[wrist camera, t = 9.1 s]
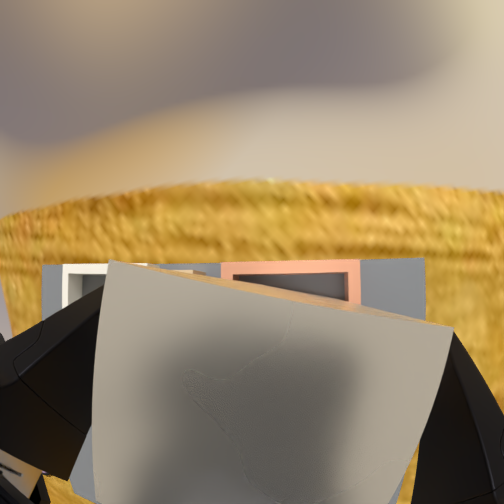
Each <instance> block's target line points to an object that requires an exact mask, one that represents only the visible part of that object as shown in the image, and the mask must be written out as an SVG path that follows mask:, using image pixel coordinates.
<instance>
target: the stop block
mask: <svg viewBox="0 0 504 504" xmlns="http://www.w3.org/2000/svg"><path fill="white" fill-rule="evenodd" d="M453 331H454V327H450V326H445V325H441V324H437V323H433V322H428V321H424V320H420V319H416V318H412V317H408V316H403V315H399V314H395V313H391V312H387V311H383V310H379V309H375V308H371V307H367V306H363V305H359V304H355V303H351V302H348V301H344V300H340V299H336V298H330V297H325V296H320V295H314V294H309V293H304V292H298V291H293V290H288V289H283V288H278V287H273V286H267V285H262V284H256V283H249V282H242V281H235V280H229V279H222V278H216V277H210V276H203V275H197V274H191V273H185V272H179V271H173V270H167V269H161V268H155V267H149V266H143V265H138V264H132V263H126V262H121V261H115V260H110V259H109V263H108V268H107V274H106V279H105V285H104V291H103V297H102V303H101V310H100V317H99V325H98V333H97V342H96V352H95V363H94V377H93V397H92V456H93V474H94V487H95V497H96V501H98V502H99V503H101V504H388V503H389V501H390V500H391V498H392V496H393V494H394V492H395V491H396V489H397V487H398V485H399V483H400V481H401V479H402V477H403V475H404V473H405V471H406V469H407V467H408V465H409V463H410V461H411V459H412V456H413V454H414V452H415V450H416V447H417V445H418V443H419V440H420V438H421V436H422V433H423V431H424V428H425V426H426V423H427V420H428V418H429V415H430V412H431V409H432V406H433V404H434V401H435V398H436V395H437V391H438V388H439V385H440V382H441V378H442V375H443V371H444V368H445V364H446V360H447V356H448V352H449V348H450V344H451V340H452V335H453Z"/></svg>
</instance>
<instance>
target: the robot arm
mask: <svg viewBox="0 0 504 504" xmlns="http://www.w3.org/2000/svg"><path fill="white" fill-rule="evenodd" d="M104 285H105V284H104ZM104 285H102V286H100V287H98V288H97V289H95V290H93V291H92V292H90V293H88V294H86V295H85V296H83V297H81V298H79V299H78V300H76V301H74V302H73V303H71V304H69V305H68V306H66V307H64V308H63V309H61V310H59V311H58V312H56V313H54V314H53V315H51V316H49V317H48V318H46V319H45V320H43V321H41V322H39V323H38V324H36V325H34V326H33V327H31V328H29V329H28V330H26V331H24V332H22V333H21V334H19V335H17V336H15V337H13V338H11V339H9V340H7V341H6V342H4V343H2V344H0V504H50V502H51V501H50V498H49V495H48V492H47V489H46V485H45V482H44V478H43V474H42V471H44V472H46V473H49V474H51V475H53V476H56V477H58V478H60V479H63V480H66V481H68V479H69V477H70V475H71V472H72V470H73V468H74V465H75V463H76V460H77V458H78V455H79V453H80V451H81V448H82V446H83V444H84V441H85V439H86V437H87V434H88V432H89V429H90V427H91V425H92V397H93V377H94V363H95V352H96V342H97V333H98V325H99V317H100V310H101V303H102V297H103V291H104ZM411 504H504V415H503V413H502V411H501V409H500V407H499V405H498V403H497V401H496V400H495V398H494V396H493V394H492V392H491V391H490V389H489V387H488V385H487V384H486V382H485V380H484V378H483V377H482V375H481V373H480V372H479V370H478V368H477V367H476V365H475V363H474V362H473V360H472V359H471V357H470V355H469V354H468V352H467V351H466V349H465V348H464V346H463V344H462V343H461V341H460V340H459V338H458V337H457V335H456V334H455V332H454V331H453V335H452V340H451V344H450V348H449V352H448V356H447V360H446V364H445V368H444V371H443V375H442V378H441V382H440V385H439V388H438V391H437V395H436V398H435V401H434V404H433V406H432V409H431V412H430V415H429V418H428V420H427V423H426V426H425V428H424V431H423V433H422V436H421V438H420V444H419V454H418V462H417V470H416V477H415V483H414V489H413V495H412V500H411Z"/></svg>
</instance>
